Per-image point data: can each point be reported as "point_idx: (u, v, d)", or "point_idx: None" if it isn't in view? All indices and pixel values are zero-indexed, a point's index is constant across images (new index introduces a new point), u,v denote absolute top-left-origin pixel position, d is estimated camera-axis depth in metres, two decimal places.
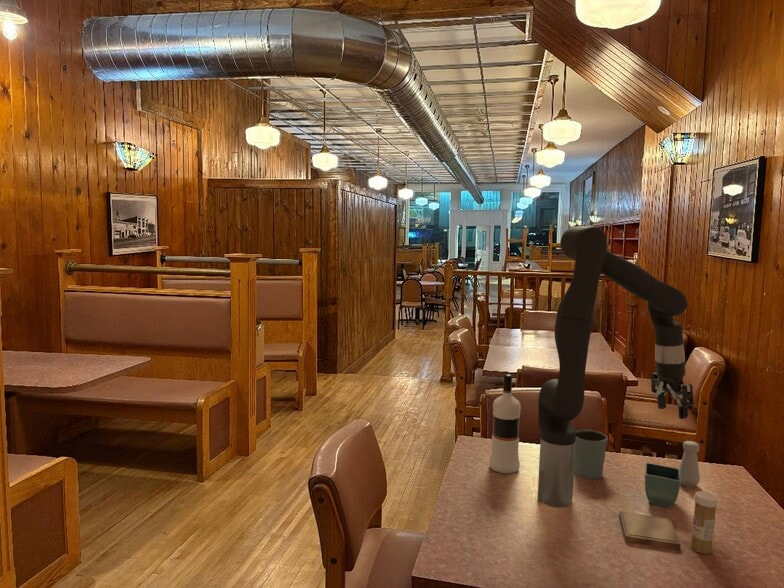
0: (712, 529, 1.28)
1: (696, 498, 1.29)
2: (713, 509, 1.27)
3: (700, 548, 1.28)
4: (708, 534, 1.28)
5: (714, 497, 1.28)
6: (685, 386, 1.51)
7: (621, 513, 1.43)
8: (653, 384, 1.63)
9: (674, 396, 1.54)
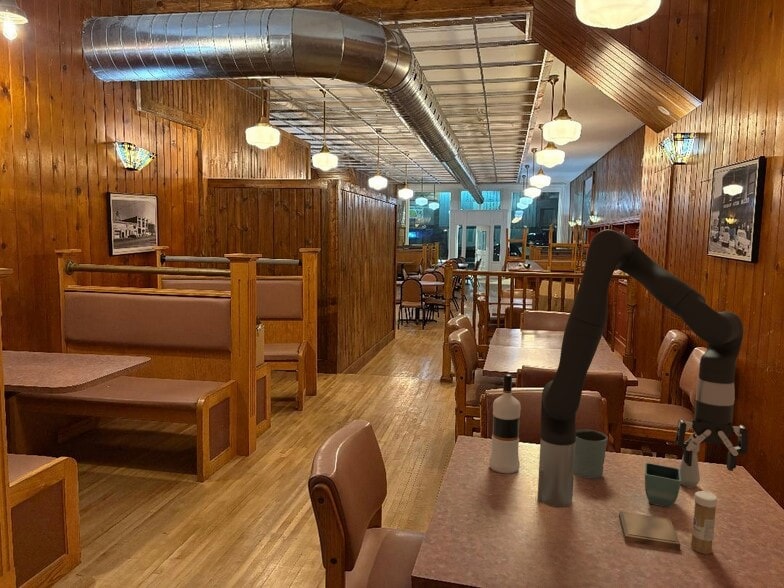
0: (712, 529, 1.28)
1: (696, 498, 1.29)
2: (713, 509, 1.27)
3: (700, 548, 1.28)
4: (708, 534, 1.28)
5: (714, 497, 1.28)
6: (679, 420, 1.29)
7: (621, 513, 1.43)
8: None
9: None
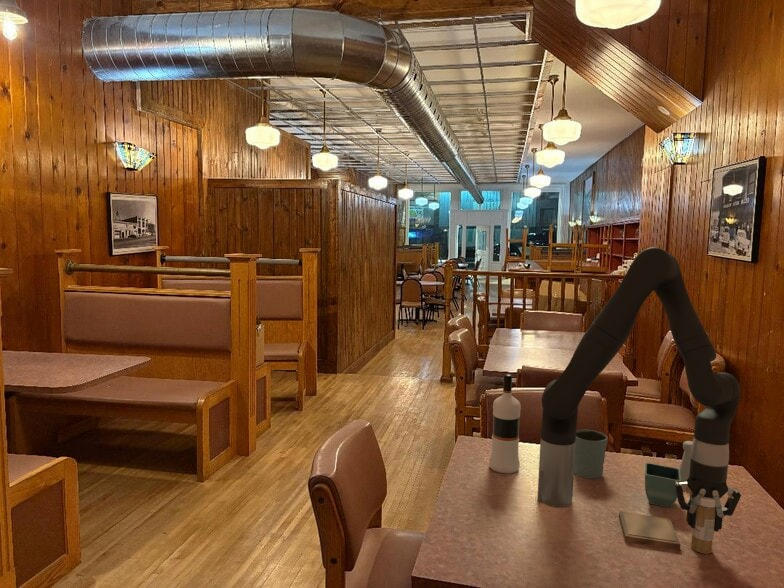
0: (712, 529, 1.28)
1: None
2: (713, 509, 1.27)
3: (700, 548, 1.28)
4: (708, 534, 1.28)
5: None
6: (674, 483, 1.31)
7: (621, 513, 1.43)
8: None
9: None
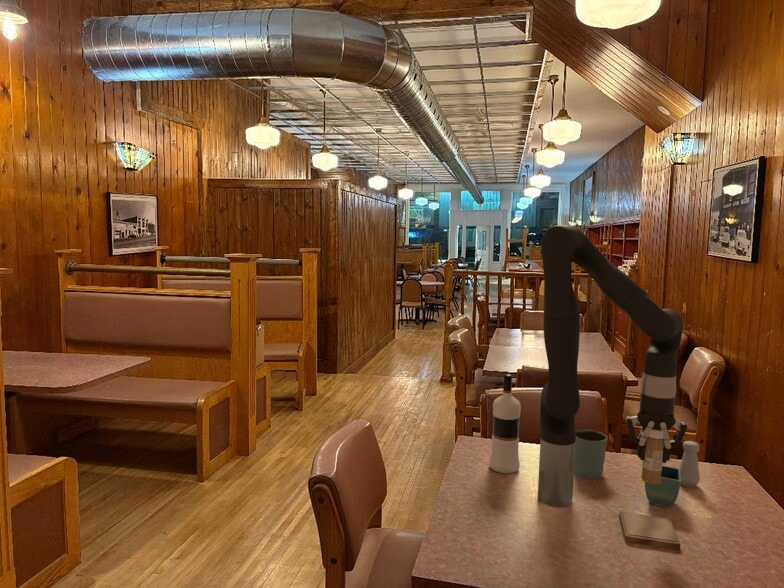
0: (660, 460, 1.33)
1: None
2: (661, 440, 1.32)
3: (649, 479, 1.34)
4: (656, 465, 1.33)
5: None
6: (625, 417, 1.36)
7: (621, 513, 1.43)
8: None
9: None
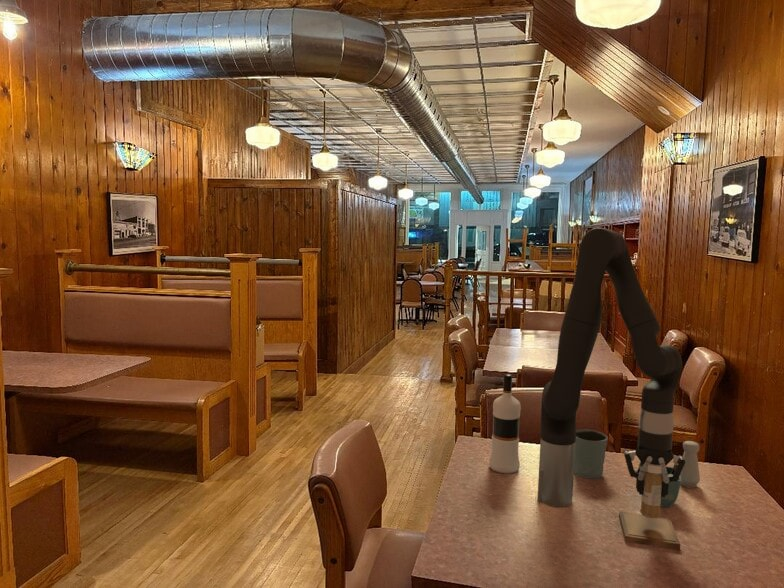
0: (659, 494, 1.34)
1: None
2: (660, 475, 1.34)
3: (648, 513, 1.35)
4: (655, 499, 1.34)
5: None
6: (624, 452, 1.37)
7: (621, 513, 1.43)
8: None
9: None
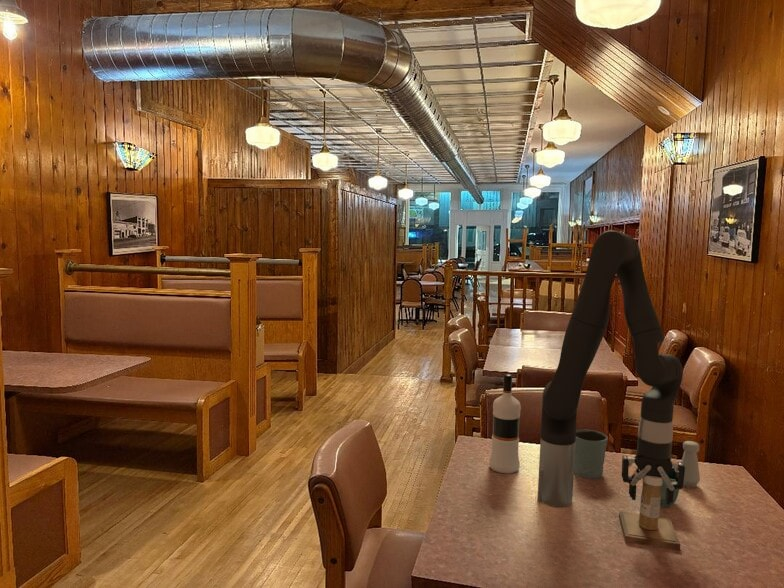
0: (657, 506, 1.34)
1: (643, 477, 1.35)
2: (659, 488, 1.34)
3: (646, 525, 1.35)
4: (653, 511, 1.34)
5: None
6: (623, 456, 1.37)
7: (621, 513, 1.43)
8: None
9: None
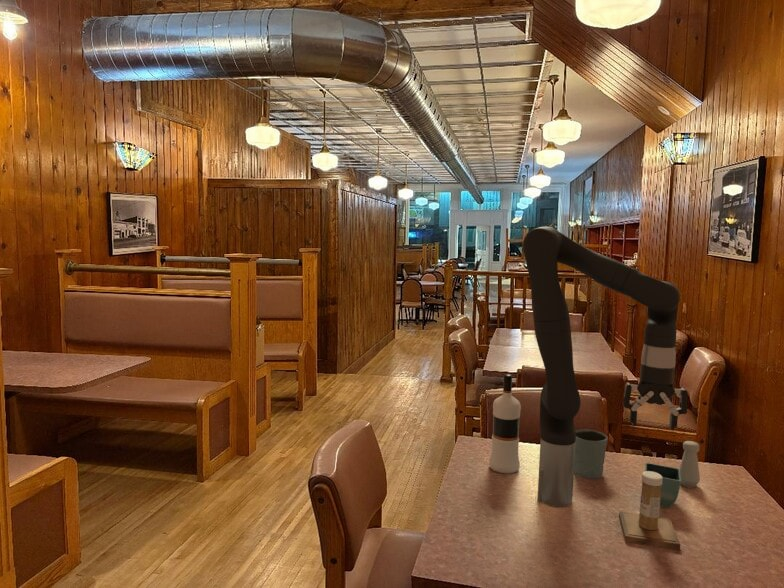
0: (657, 506, 1.34)
1: (643, 477, 1.35)
2: (658, 488, 1.34)
3: (646, 525, 1.35)
4: (653, 511, 1.34)
5: (659, 476, 1.34)
6: (626, 383, 1.39)
7: (621, 513, 1.43)
8: None
9: None
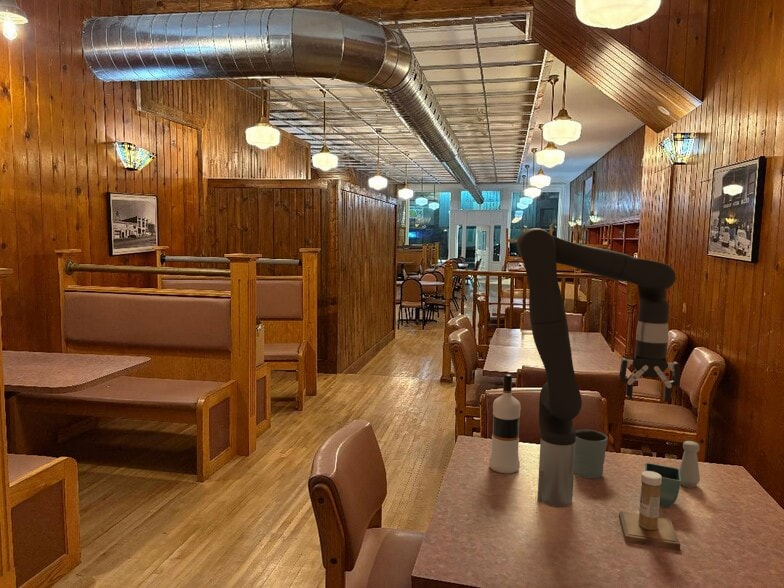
0: (657, 506, 1.34)
1: (642, 477, 1.35)
2: (658, 487, 1.34)
3: (646, 525, 1.35)
4: (653, 511, 1.34)
5: (659, 476, 1.34)
6: (622, 359, 1.47)
7: (621, 513, 1.43)
8: None
9: None
